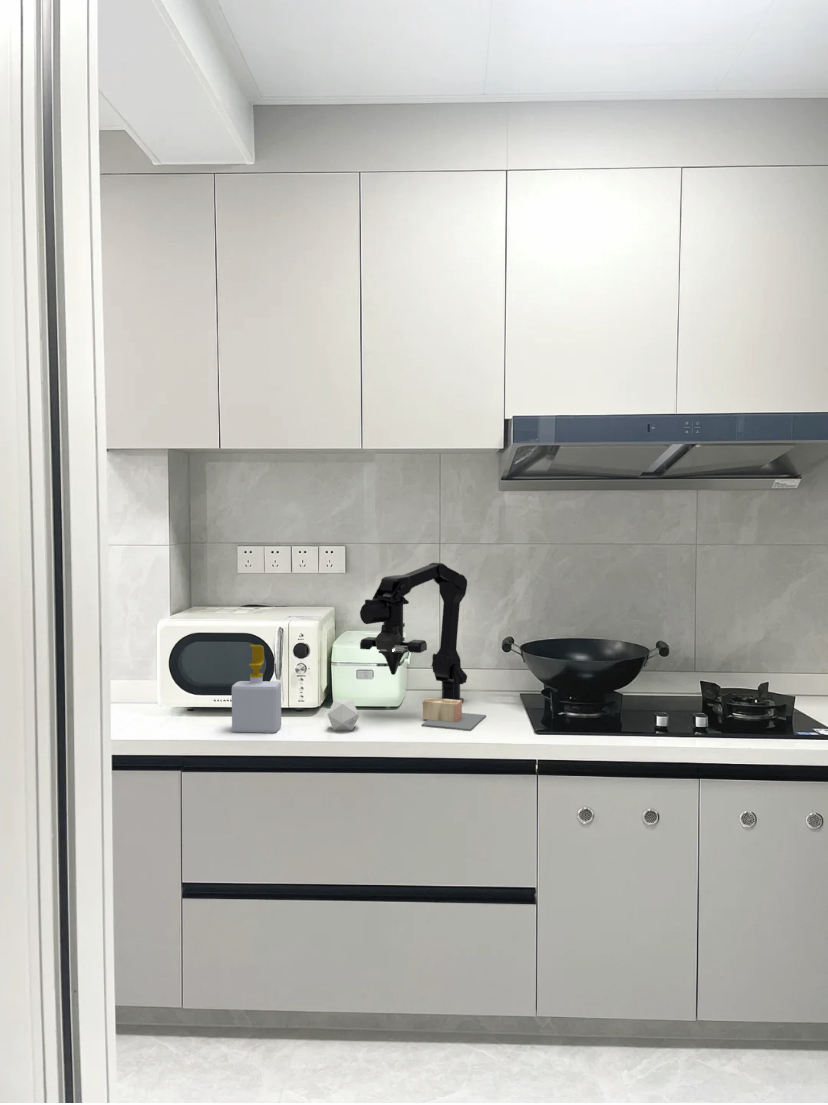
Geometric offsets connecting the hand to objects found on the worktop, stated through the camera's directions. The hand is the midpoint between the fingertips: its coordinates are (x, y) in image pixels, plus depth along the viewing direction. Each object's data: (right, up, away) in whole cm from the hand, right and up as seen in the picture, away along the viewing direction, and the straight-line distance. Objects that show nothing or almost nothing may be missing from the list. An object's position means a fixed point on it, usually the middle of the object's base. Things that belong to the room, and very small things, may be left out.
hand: (393, 674), depth 238 cm
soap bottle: (-37, -13, -14) cm, 41 cm away
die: (-13, -13, -14) cm, 23 cm away
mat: (+17, -12, -6) cm, 22 cm away
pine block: (+9, -9, -3) cm, 13 cm away
